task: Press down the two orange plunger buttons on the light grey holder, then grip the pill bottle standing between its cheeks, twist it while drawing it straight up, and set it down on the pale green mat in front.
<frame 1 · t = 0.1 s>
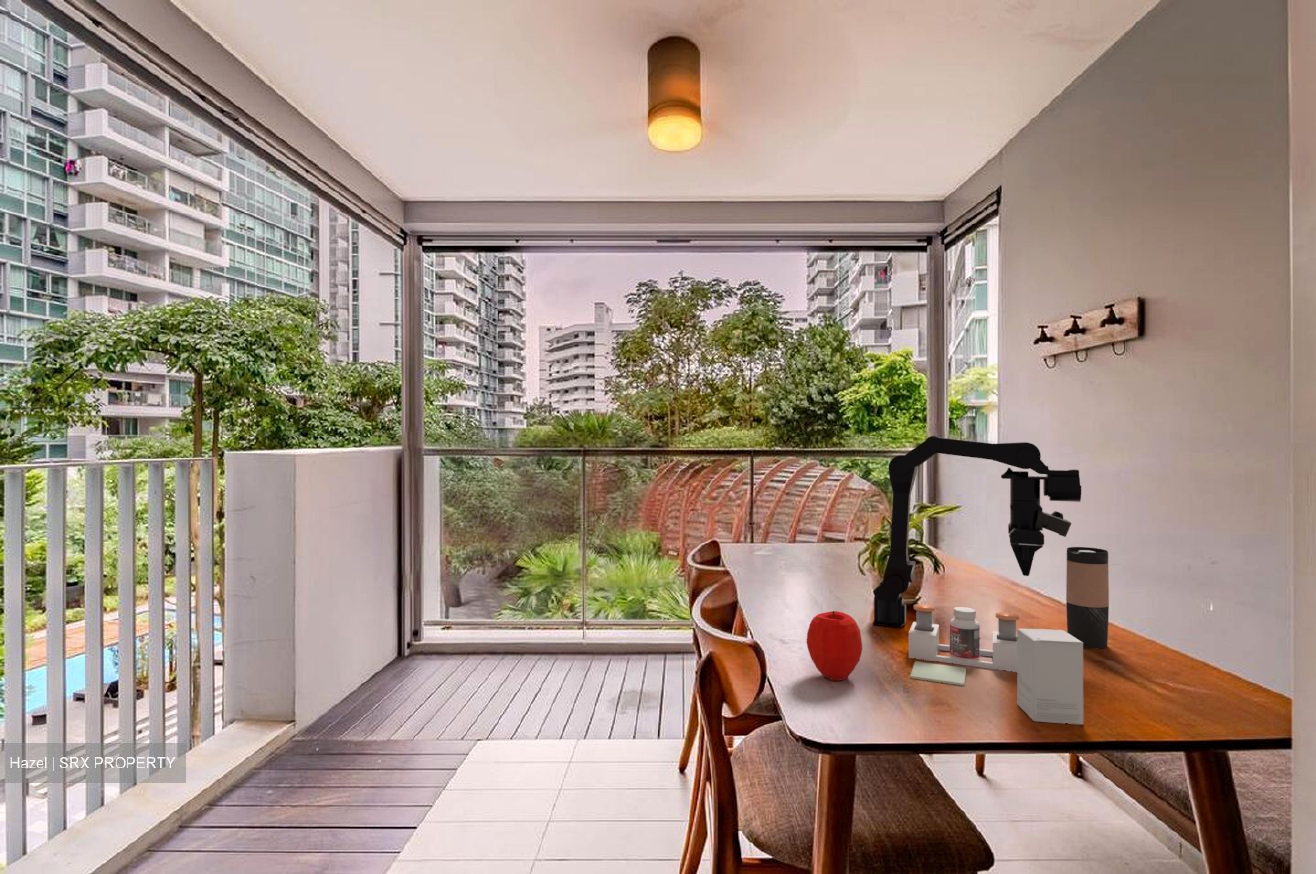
hand: (1025, 571, 148), 15 cm above the table, tool pointing down, fingers open, 9 cm apart
plunger left: (924, 618, 138), point 7 cm above the table, slide at 0.0 cm
pill bottle: (964, 659, 135), resting in holder
plunger right: (1007, 627, 132), point 7 cm above the table, slide at 0.0 cm
supplement box: (1049, 715, 108), on the table
mat: (938, 674, 126), on the table
holder: (964, 658, 135), on the table
travel mug: (1087, 644, 145), on the table
apple: (834, 678, 125), on the table
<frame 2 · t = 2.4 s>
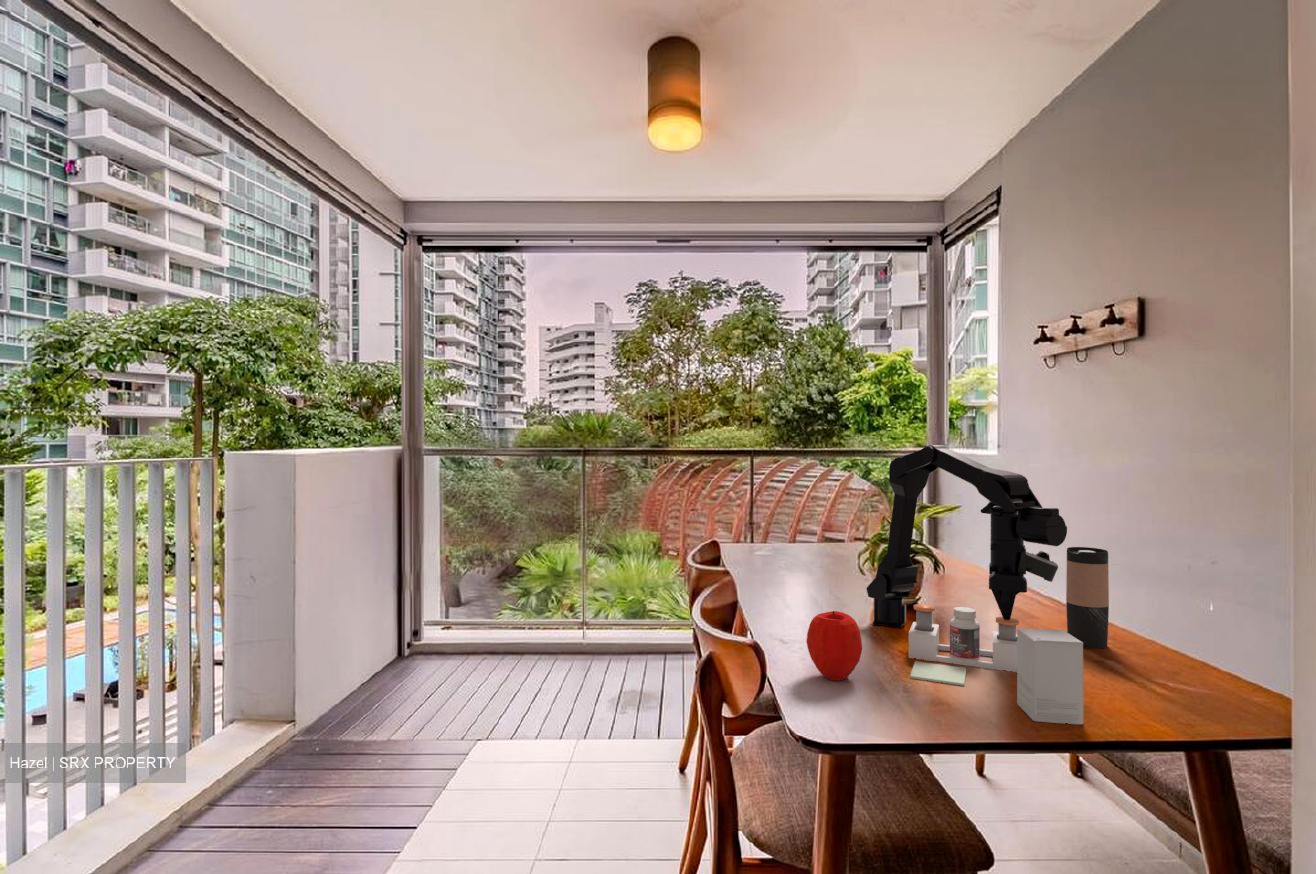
hand: (1006, 619, 132), 9 cm above the table, tool pointing down, fingers closed, pressing on plunger right
plunger right: (1007, 632, 132), point 6 cm above the table, slide at 0.9 cm, touching gripper
everything else where it was.
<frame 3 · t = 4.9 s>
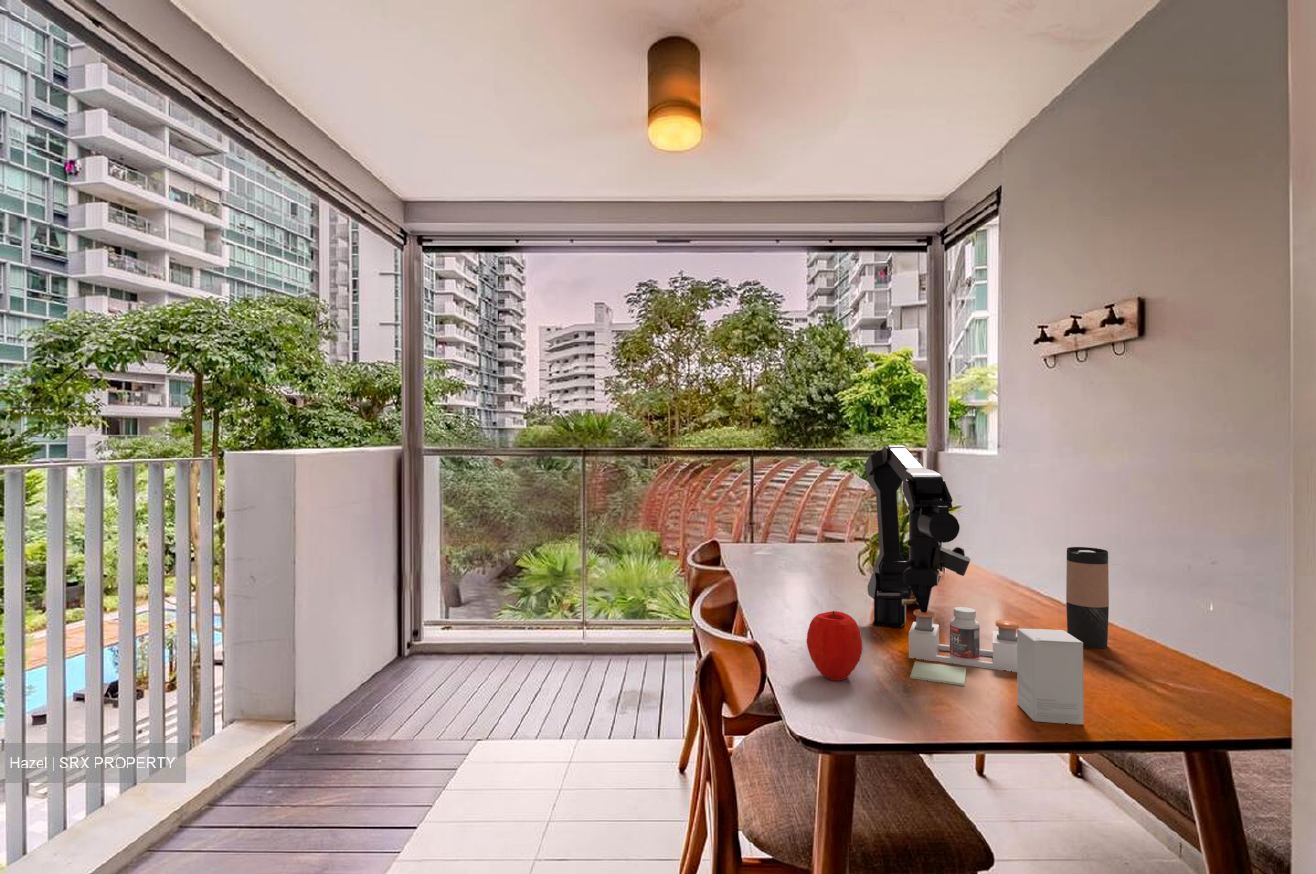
hand: (924, 611, 139), 8 cm above the table, tool pointing down, fingers closed, pressing on plunger left
plunger left: (924, 624, 138), point 6 cm above the table, slide at 1.1 cm, touching gripper
plunger right: (1007, 636, 132), point 5 cm above the table, slide at 1.6 cm
everything else where it was.
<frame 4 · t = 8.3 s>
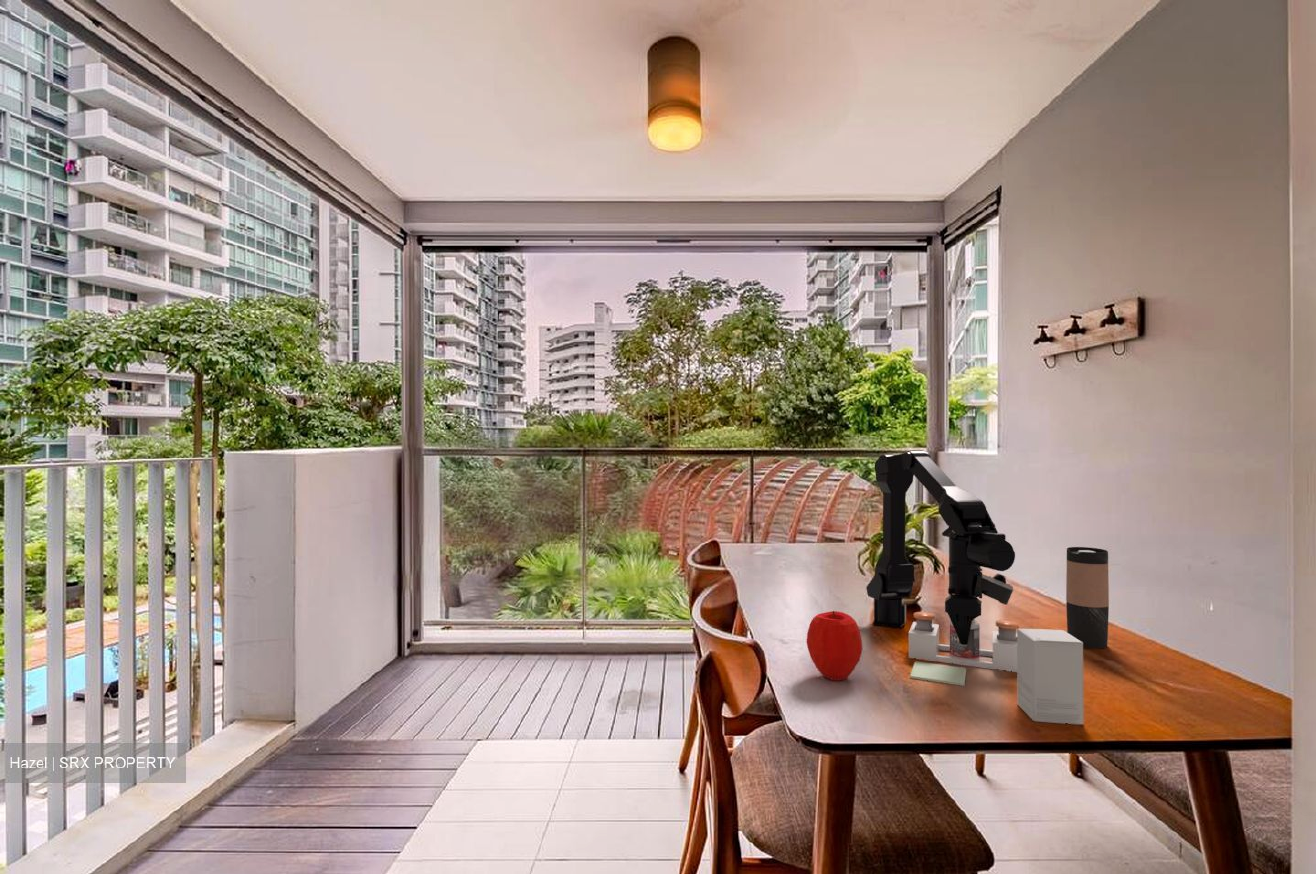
hand: (964, 640, 135), 4 cm above the table, tool pointing down, fingers closed on pill bottle, 5 cm apart
plunger left: (924, 626, 138), point 5 cm above the table, slide at 1.7 cm
pill bottle: (964, 659, 135), resting in holder, touching gripper
everything else where it was.
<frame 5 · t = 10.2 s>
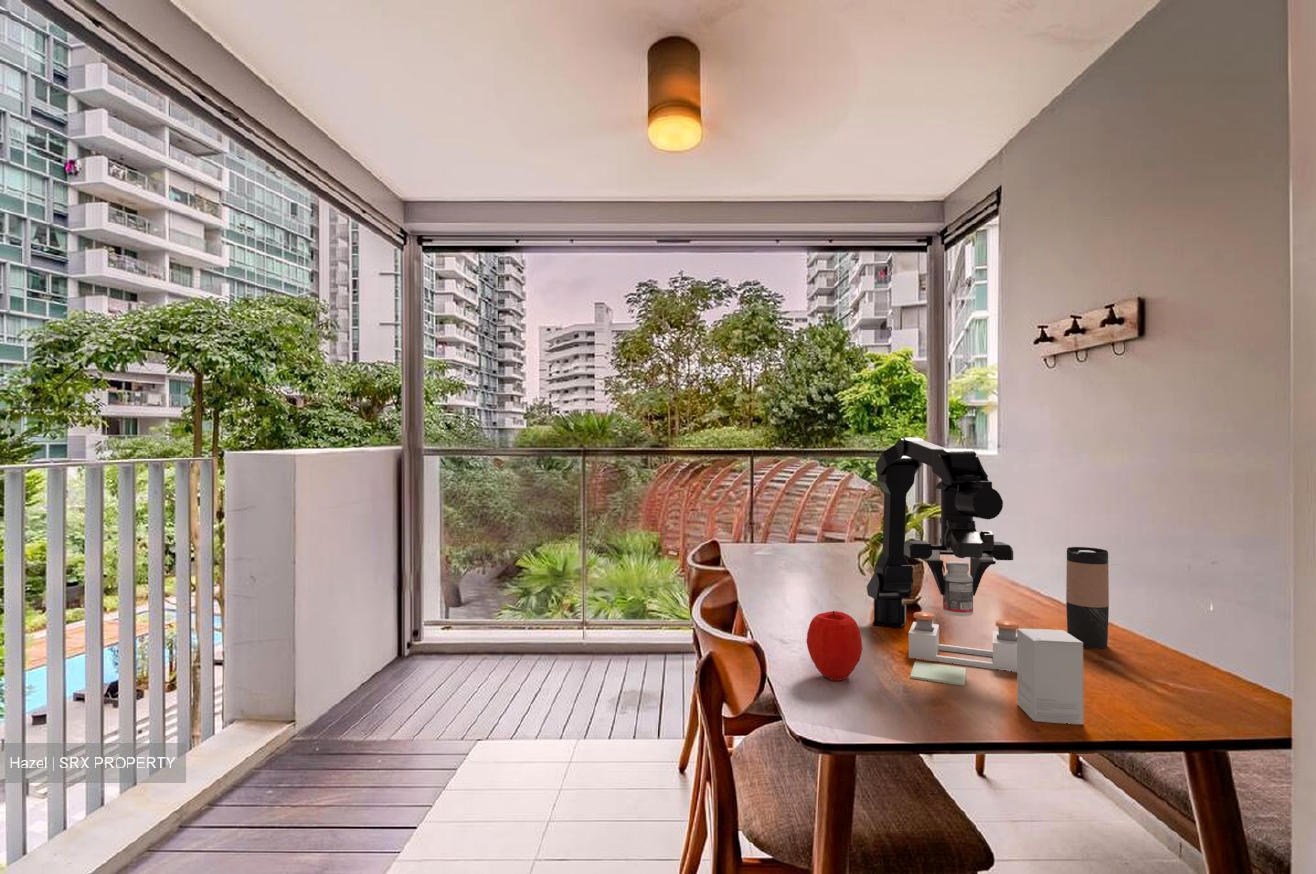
hand: (957, 595, 132), 13 cm above the table, tool pointing down, fingers closed on pill bottle, 5 cm apart
pill bottle: (958, 614, 132), point 10 cm above the table, touching gripper
everything else where it was.
when the fingers open (5 cm above the table, at t = 12.5 s): pill bottle stays where it is, resting on mat.
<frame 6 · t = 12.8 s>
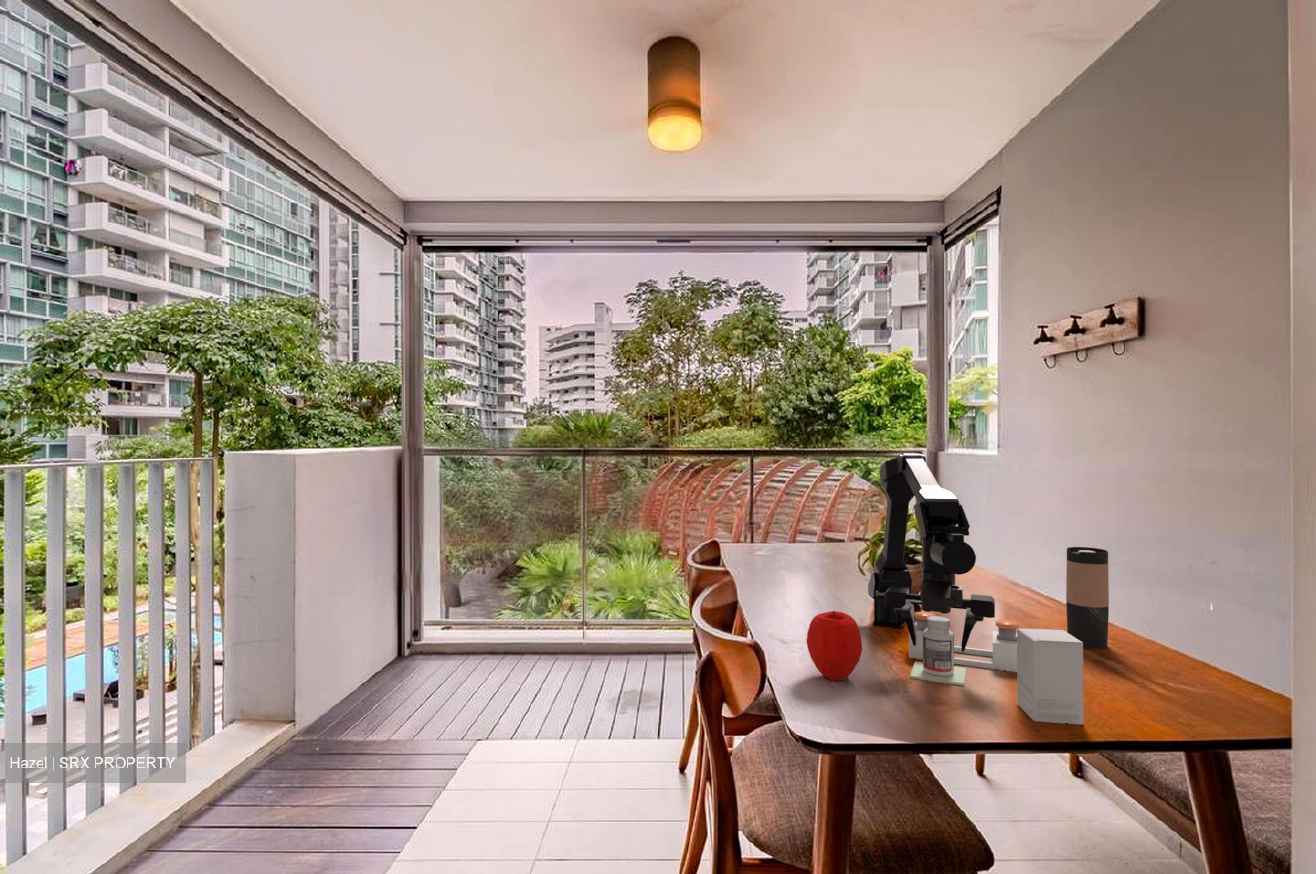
hand: (938, 648, 126), 5 cm above the table, tool pointing down, fingers open, 8 cm apart
pill bottle: (938, 673, 126), resting on mat
everything else where it was.
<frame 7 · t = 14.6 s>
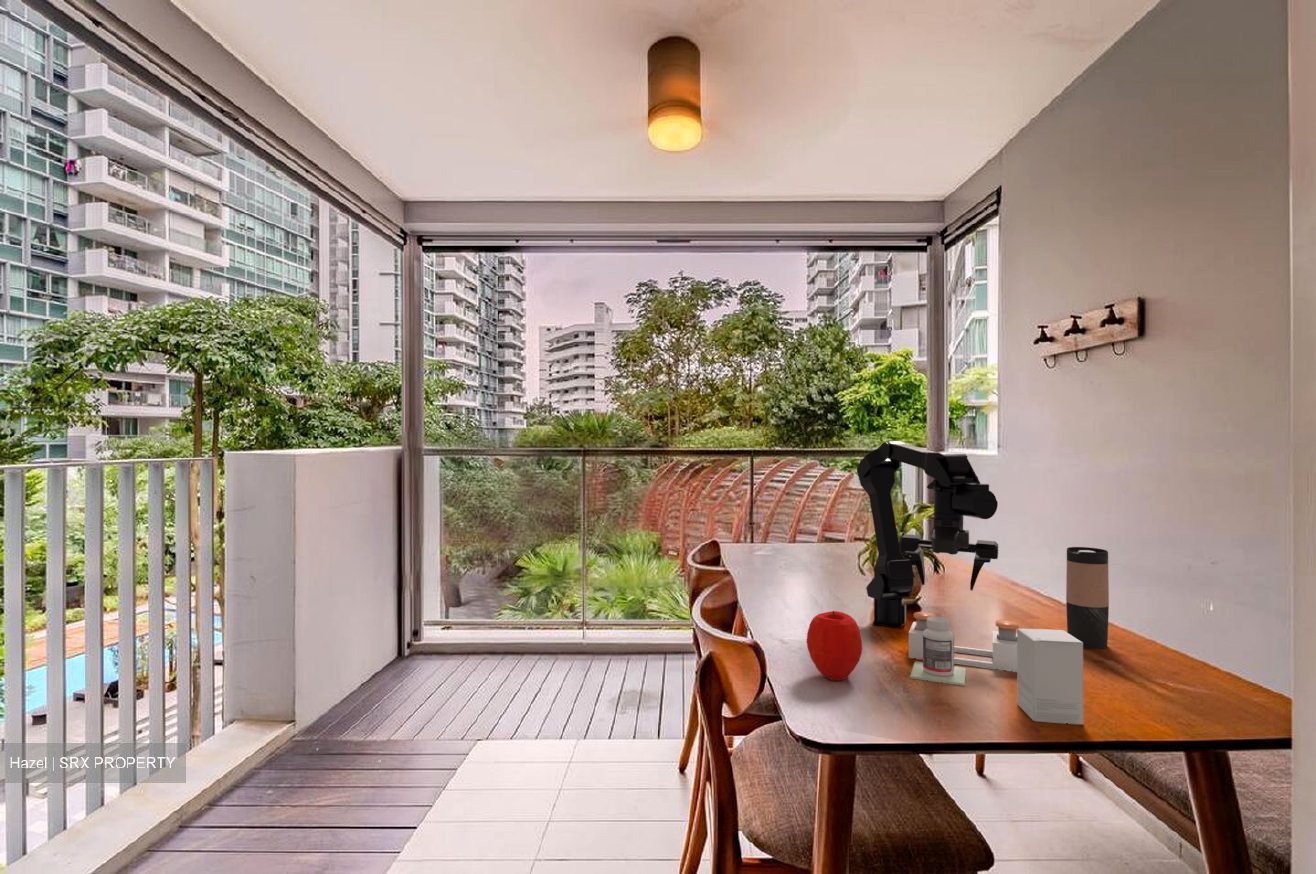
hand: (947, 587, 142), 13 cm above the table, tool pointing down, fingers open, 9 cm apart
nothing on the table moved.
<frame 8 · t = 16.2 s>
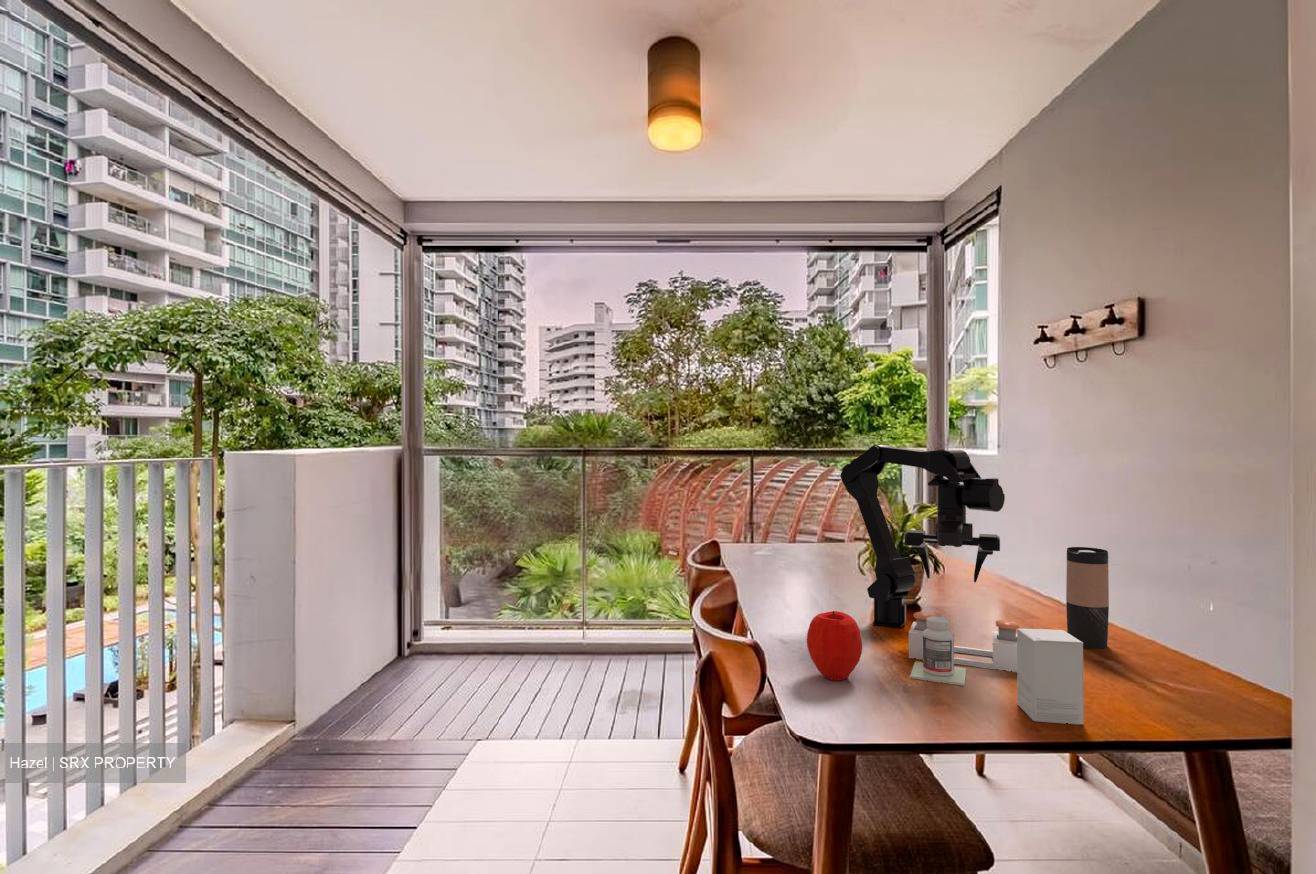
hand: (951, 580, 147), 13 cm above the table, tool pointing down, fingers open, 9 cm apart
nothing on the table moved.
at the end: pill bottle inside the target area on the mat (0.0 cm from its centre), point 0.2 cm above the mat's base; plunger right slide at 1.6 cm; plunger left slide at 1.7 cm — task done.
